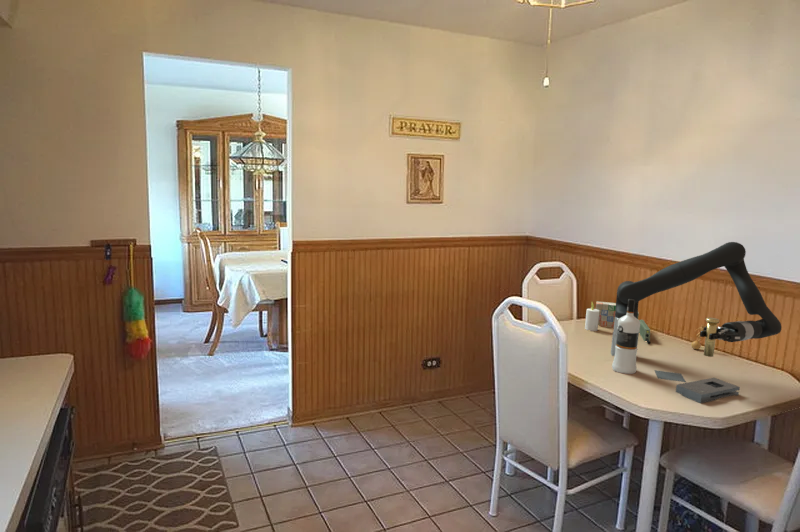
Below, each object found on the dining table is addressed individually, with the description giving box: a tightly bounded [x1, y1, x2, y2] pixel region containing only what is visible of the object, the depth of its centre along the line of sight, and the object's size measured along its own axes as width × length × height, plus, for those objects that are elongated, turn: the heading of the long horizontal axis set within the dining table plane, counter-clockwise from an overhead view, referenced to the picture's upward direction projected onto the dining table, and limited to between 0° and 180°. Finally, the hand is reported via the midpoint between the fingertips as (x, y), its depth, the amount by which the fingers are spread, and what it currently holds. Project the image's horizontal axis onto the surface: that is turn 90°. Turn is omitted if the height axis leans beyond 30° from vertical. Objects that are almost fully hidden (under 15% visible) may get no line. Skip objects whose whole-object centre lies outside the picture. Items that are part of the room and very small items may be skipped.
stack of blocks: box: [595, 301, 640, 328], centre depth 290 cm, size 21×6×12 cm, turn 70°
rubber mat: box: [654, 369, 687, 383], centre depth 216 cm, size 10×10×1 cm
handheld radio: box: [638, 319, 651, 345], centre depth 270 cm, size 7×3×25 cm
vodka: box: [611, 299, 640, 375], centre depth 219 cm, size 9×9×30 cm
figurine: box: [691, 324, 707, 350], centre depth 254 cm, size 8×6×12 cm
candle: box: [584, 301, 599, 332], centre depth 282 cm, size 6×6×15 cm
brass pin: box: [703, 317, 720, 358], centre depth 202 cm, size 4×4×14 cm
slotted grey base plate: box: [675, 377, 740, 404], centre depth 199 cm, size 21×10×3 cm, turn 115°
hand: (705, 335), depth 200 cm, fingers closed on brass pin, 3 cm apart
